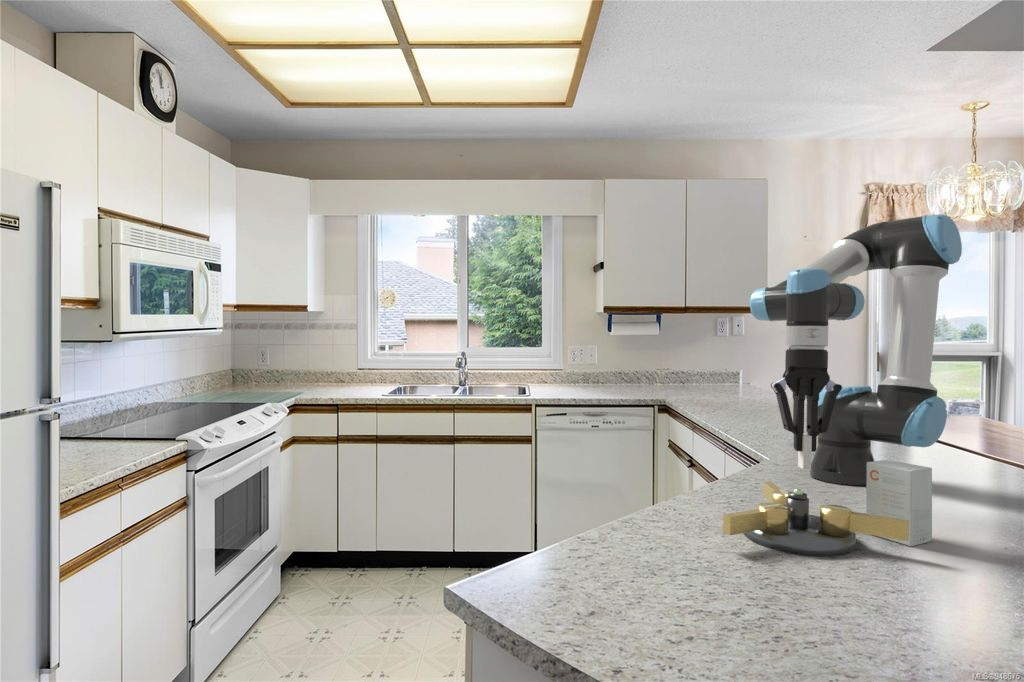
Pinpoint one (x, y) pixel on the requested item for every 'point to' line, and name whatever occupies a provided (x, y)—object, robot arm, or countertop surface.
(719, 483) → the countertop surface
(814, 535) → the tribrach plate
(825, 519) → the knob
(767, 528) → the knob
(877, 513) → the small box
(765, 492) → the knob
